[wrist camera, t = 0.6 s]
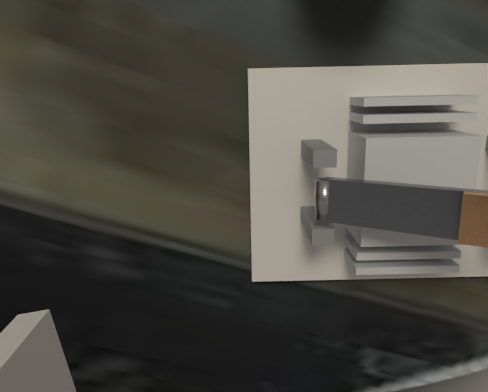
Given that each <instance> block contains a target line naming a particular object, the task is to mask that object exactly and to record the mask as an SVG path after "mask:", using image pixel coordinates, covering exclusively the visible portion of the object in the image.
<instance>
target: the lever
mask: <svg viewBox="0 0 488 392" xmlns="http://www.w3.org/2000/svg"><path fill="white" fill-rule="evenodd" d="M315 219H316V220H319V221H323V222H330V223H337V224H344V225H352V226H359V227H366V228H373V229H380V230H388V231H395V232H402V233H409V234H416V235H423V236H431V237H438V238H445V239H452V240H458V244H464V245H471V246H478V247H485V248H488V190H477V189H465V188H454V187H442V186H430V185H418V184H407V183H395V182H383V181H371V180H360V179H348V178H336V177H321V178H316V188H315Z"/></svg>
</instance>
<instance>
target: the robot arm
mask: <svg viewBox="0 0 488 392" xmlns="http://www.w3.org/2000/svg"><path fill="white" fill-rule="evenodd" d="M0 392H76V389H75V386H74V383H73V380H72V377H71V374H70V371H69V368H68V365H67V362H66V359H65V356H64V353H63V350H62V347H61V344H60V341H59V338H58V335H57V332H56V329H55V326H54V323H53V319H52V316H51V313H50V310H43V311H37V312H31V313H26V314H20V315H17V316H16V317H15V318H14V320H13V321H12V322H11V323H10V324H9V325H8V326H7V327H6V328H5V329H4V330H3V331H2V332H1V333H0Z"/></svg>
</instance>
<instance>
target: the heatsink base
mask: <svg viewBox="0 0 488 392" xmlns="http://www.w3.org/2000/svg"><path fill="white" fill-rule="evenodd" d="M248 106H249V158H250V209H251V261H252V282H261V281H305V280H349V279H393V278H437V277H481V276H488V248H485V247H478V246H471V245H464V244H458V240H452V239H445V238H438V237H431V236H423V235H416V234H409V233H402V232H395V231H388V230H380V229H373V228H366V227H359V226H352V225H344V224H337V223H330V222H323V221H319V220H316V219H315V188H316V178H321V177H336V178H348V179H360V180H371V181H383V182H395V183H407V184H418V185H430V186H442V187H454V188H465V189H477V190H488V63H470V64H427V65H384V66H341V67H298V68H255V69H248Z"/></svg>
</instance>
